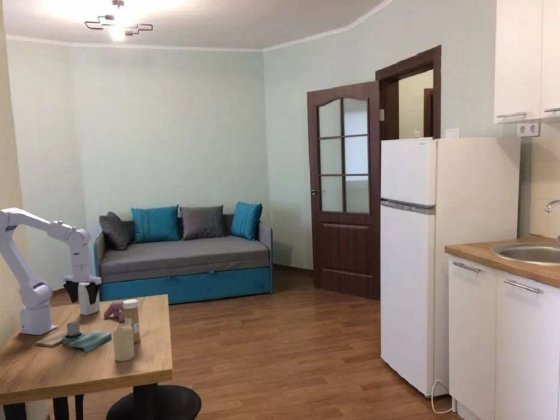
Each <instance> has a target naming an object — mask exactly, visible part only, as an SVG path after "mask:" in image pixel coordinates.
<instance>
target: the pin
mask: <svg viewBox="0 0 560 420" xmlns="http://www.w3.org/2000/svg"><path fill="white" fill-rule="evenodd" d="M66 328H67V330H66V331H67V332H68V339H71V338H77V337H79V336H80V332H81V330H80V322H79V321H72V322H71V321H70V322H68V323H66Z"/></svg>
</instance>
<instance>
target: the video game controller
mask: <svg viewBox="0 0 560 420" xmlns="http://www.w3.org/2000/svg"><path fill="white" fill-rule="evenodd" d="M123 302H124V301H115V302H112V303H111V304H110V305H109V306H108V308H107V309H106V310H105V312H104V313H103V318H104V319H108V318H110V316H111V315H112V316H113V317H114V318H118V321H119V322H120V323H122V322H125V319H124V317H125V316H124V308H123Z"/></svg>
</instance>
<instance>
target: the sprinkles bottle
mask: <svg viewBox="0 0 560 420" xmlns="http://www.w3.org/2000/svg"><path fill="white" fill-rule="evenodd" d="M122 302H123V308H124V316H125V317H124V319H125V320H124V323H125V324H128V325H130V326H131V327H132V328H133V342H134V344H137V343H139V342H140V341H141V335H140V334H141V333H140V319H139V318H140V317H139V300H138V299H134V298H133V299H126V300H124V301H122Z"/></svg>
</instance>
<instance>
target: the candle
mask: <svg viewBox="0 0 560 420" xmlns="http://www.w3.org/2000/svg"><path fill="white" fill-rule="evenodd" d="M112 335H113V336H112V338H113V351H114V352H113V353H114V360H115V361H117V362H126V361H129V360H132V359H134V357H135V345H134V344H135V343H134V342H133V328H132V327H131V326H130V325H128V324H125V322H124V323H122V324H121V323H120V324H119V323H118V324H117V325H116V327H115V328H114V329H113V330H112Z"/></svg>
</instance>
